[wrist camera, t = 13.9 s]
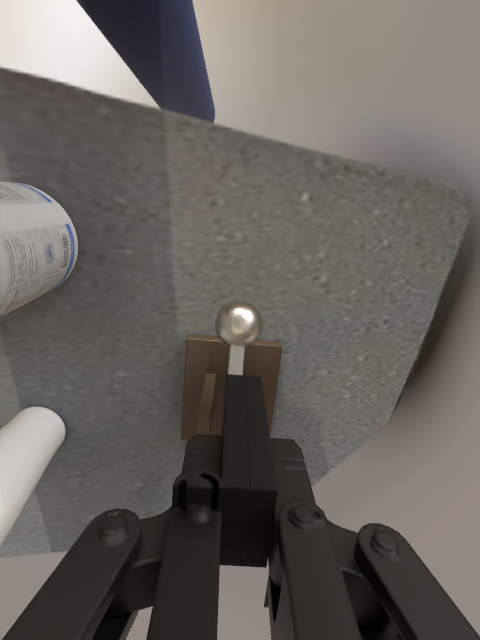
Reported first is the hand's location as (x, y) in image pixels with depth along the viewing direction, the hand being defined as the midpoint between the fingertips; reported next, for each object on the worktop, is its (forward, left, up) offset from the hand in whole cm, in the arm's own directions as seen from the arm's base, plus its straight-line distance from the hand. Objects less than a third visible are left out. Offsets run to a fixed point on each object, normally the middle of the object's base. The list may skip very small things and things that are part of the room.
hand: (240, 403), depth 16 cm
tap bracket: (+10, 0, -19) cm, 22 cm away
